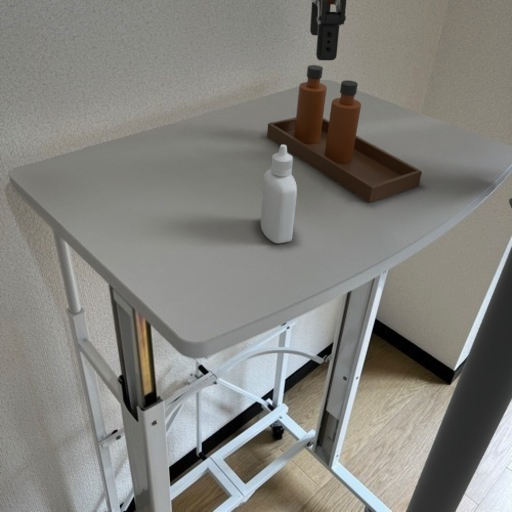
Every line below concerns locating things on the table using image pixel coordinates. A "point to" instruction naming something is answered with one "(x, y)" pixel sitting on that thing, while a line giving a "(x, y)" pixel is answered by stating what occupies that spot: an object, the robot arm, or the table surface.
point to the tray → (351, 163)
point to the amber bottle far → (310, 107)
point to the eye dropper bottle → (279, 198)
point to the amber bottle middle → (343, 124)
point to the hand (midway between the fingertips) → (322, 46)
